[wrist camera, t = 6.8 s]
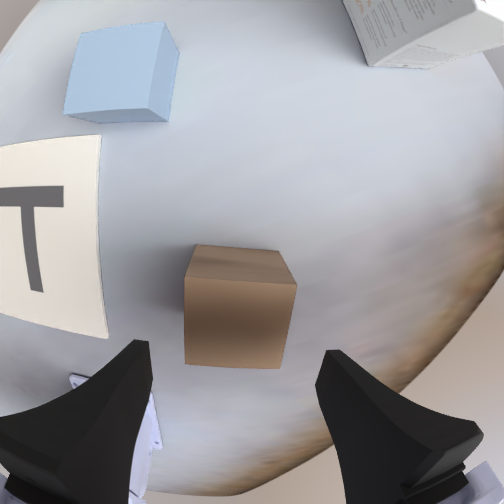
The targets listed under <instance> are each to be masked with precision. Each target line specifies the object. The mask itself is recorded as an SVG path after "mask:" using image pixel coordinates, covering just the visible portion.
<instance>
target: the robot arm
mask: <svg viewBox="0 0 504 504" xmlns="http://www.w3.org/2000/svg"><path fill="white" fill-rule="evenodd" d="M69 379H70V382H71V385H72V387H73V390H71V391H70V392H68V393H66V394H64V395H62V396H60V397H58V398H56V399H54V400H52V401H50V402H48V403H46V404H44V405H41V406H39V407H36V408H33V409H30V410H27V411H24V412H20V413H16V414H12V415H8V416H3V417H0V463H1V464H2V466H3V467H4V468H5V469H6V470H7V471H8V472H9V473H10V475H9V477H8V479H7V478H6V477H5V476H4V475H2V474H1V473H0V504H146V501H145V500H143V499H141V498H142V497H143V495H144V493H145V491H146V487H147V481H148V475H149V469H150V463H151V457H152V452H153V449H159V450H160V449H163V443H162V439H161V435H160V430H159V425H158V420H157V415H156V410H155V405H154V399H153V394H152V393H151V387H152V381H153V375H152V367H151V359H150V350H149V341H142V340H135V339H134V340H133V341H132V342H131V343H130V344H128V345H127V346H126V347H125V348H124V349H123V350H122V351H121V352H120V353H119V354H118V355H117V356H116V357H114V358H113V359H112V360H111V361H110V362H109V363H108V364H106V365H105V366H104V367H103V368H102V369H101V370H99V371H98V372H97V373H96V374H94V375H93V376H92V377H90V378H85V377H81V376H77V375H73V374H72V375H71V376H70V377H69ZM315 387H316V392H317V397H318V401H319V405H320V408H321V411H322V413H323V416H324V419H325V421H326V424H327V426H328V429H329V432H330V434H331V437H332V439H333V442H334V445H335V448H336V451H337V455H338V459H339V463H340V468H341V473H342V478H343V483H344V489H345V497H346V504H500V503H501V502H502V501H503V500H504V487H503V486H502V484H501V482H500V481H499V479H498V478H497V476H496V475H495V473H494V472H493V470H492V469H491V467H490V466H489V464H488V463H487V461H485V462H483V463H481V464H480V465H478V466H477V467H475V468H474V469H472V470H471V471H470V472H468V473H467V474H466V475H464V473H463V472H462V471H463V470H464V469H465V465H464V463H463V461H464V460H465V459H466V458H467V457H468V456H469V455H470V454H471V453H472V452H473V451H474V450H475V449H476V447H477V446H478V445H479V444H480V442H481V441H482V439H483V436H484V434H483V432H482V431H481V430H480V428H479V427H478V426H477V424H476V423H475V422H474V421H470V420H465V419H460V418H455V417H451V416H447V415H444V414H441V413H438V412H435V411H433V410H430V409H428V408H425V407H423V406H421V405H418V404H416V403H414V402H412V401H410V400H408V399H407V398H405V397H403V396H401V395H400V394H398V393H396V392H395V391H393V390H392V389H390V388H389V387H387V386H386V385H384V384H383V383H381V382H380V381H379V380H377V379H376V378H375V377H373V376H372V375H371V374H369V373H368V372H367V371H366V370H364V369H363V368H362V367H361V366H359V365H358V364H357V363H356V362H355V361H353V360H352V359H351V358H350V357H348V356H347V355H346V354H345V353H343V352H342V351H341V350H326V353H325V356H324V359H323V362H322V365H321V369H320V372H319V375H318V378H317V381H316V384H315Z"/></svg>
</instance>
